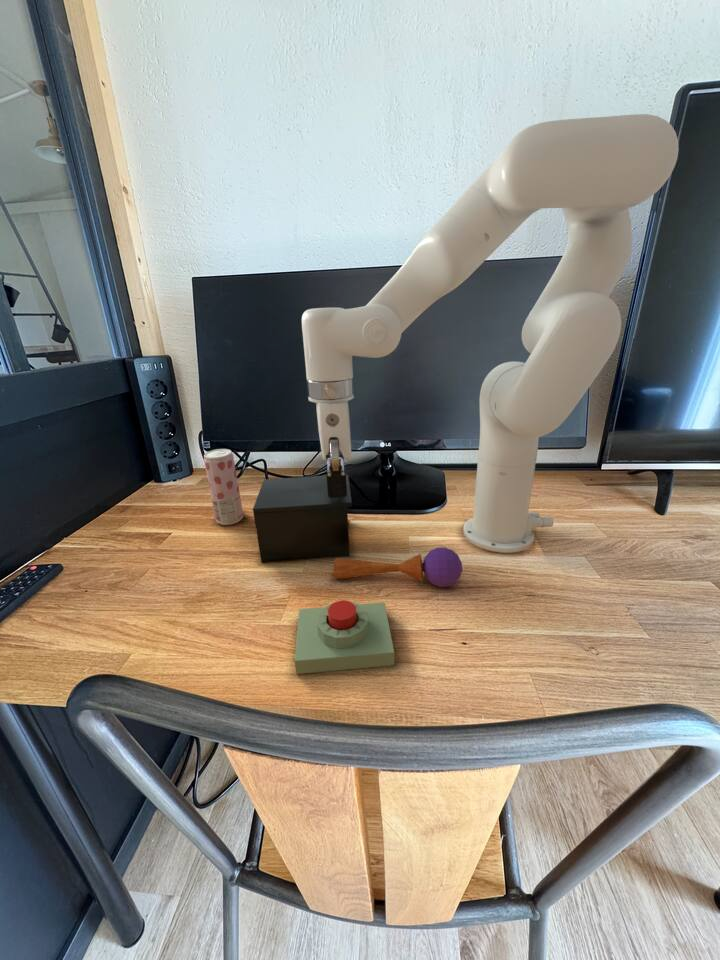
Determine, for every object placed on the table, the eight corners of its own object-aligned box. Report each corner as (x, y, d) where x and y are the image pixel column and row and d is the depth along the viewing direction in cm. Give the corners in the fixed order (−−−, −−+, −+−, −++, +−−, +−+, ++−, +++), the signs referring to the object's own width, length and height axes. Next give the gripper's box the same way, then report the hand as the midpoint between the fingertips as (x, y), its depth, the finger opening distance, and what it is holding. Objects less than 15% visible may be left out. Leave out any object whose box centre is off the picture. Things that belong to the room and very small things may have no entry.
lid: (348, 478, 79) (347, 455, 77) (351, 506, 67) (350, 480, 65) (264, 483, 78) (261, 460, 76) (253, 513, 66) (249, 487, 64)
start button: (355, 609, 53) (355, 599, 52) (357, 629, 50) (357, 618, 49) (328, 611, 53) (327, 601, 52) (328, 632, 49) (327, 621, 49)
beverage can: (247, 513, 88) (237, 448, 82) (237, 526, 82) (225, 458, 76) (223, 512, 88) (210, 448, 82) (211, 525, 83) (197, 457, 77)
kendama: (337, 544, 67) (459, 541, 64) (341, 577, 68) (460, 575, 65) (329, 559, 61) (463, 556, 58) (333, 594, 63) (464, 593, 59)
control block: (384, 614, 57) (384, 591, 56) (394, 665, 49) (394, 640, 47) (300, 621, 56) (297, 598, 55) (296, 674, 48) (292, 649, 47)
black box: (346, 521, 82) (344, 478, 79) (349, 556, 71) (347, 507, 67) (270, 527, 82) (264, 483, 78) (261, 563, 70) (253, 513, 66)
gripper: (357, 399, 58) (361, 504, 64) (350, 380, 73) (354, 466, 80) (305, 402, 57) (314, 508, 64) (309, 382, 73) (317, 468, 80)
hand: (336, 484), depth 72 cm, fingers open, 9 cm apart
